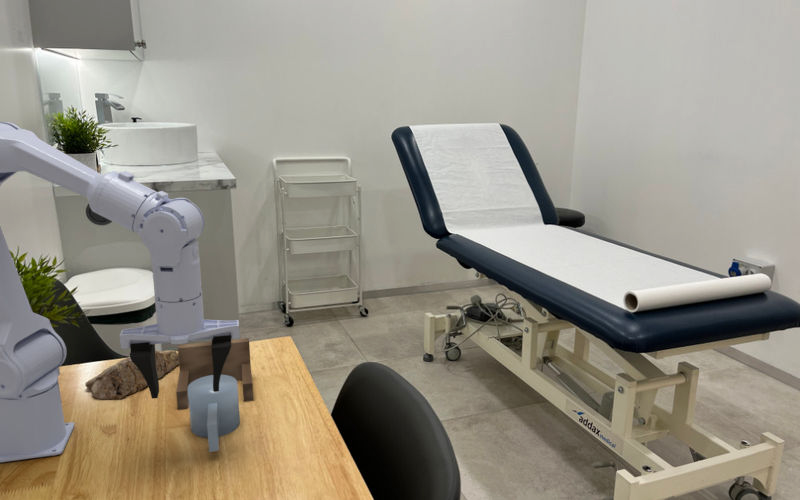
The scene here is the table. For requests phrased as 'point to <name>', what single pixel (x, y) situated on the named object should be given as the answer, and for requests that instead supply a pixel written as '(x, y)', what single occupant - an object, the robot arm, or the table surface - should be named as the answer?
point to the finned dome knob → (213, 408)
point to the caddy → (200, 364)
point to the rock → (128, 376)
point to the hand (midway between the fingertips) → (186, 391)
